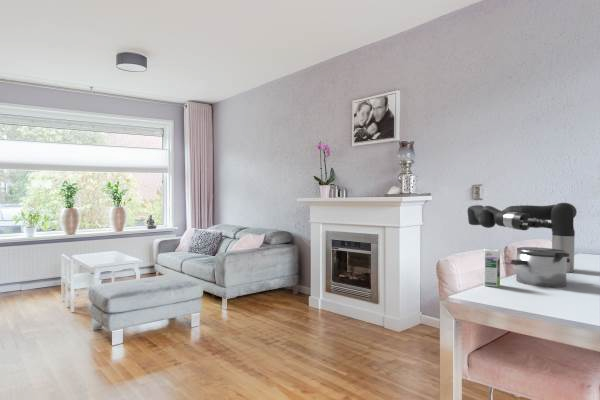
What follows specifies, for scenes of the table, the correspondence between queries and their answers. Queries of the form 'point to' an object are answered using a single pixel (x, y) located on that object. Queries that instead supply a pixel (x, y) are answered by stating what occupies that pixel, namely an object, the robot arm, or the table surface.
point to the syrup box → (492, 267)
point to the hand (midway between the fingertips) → (552, 225)
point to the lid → (542, 251)
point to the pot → (541, 270)
